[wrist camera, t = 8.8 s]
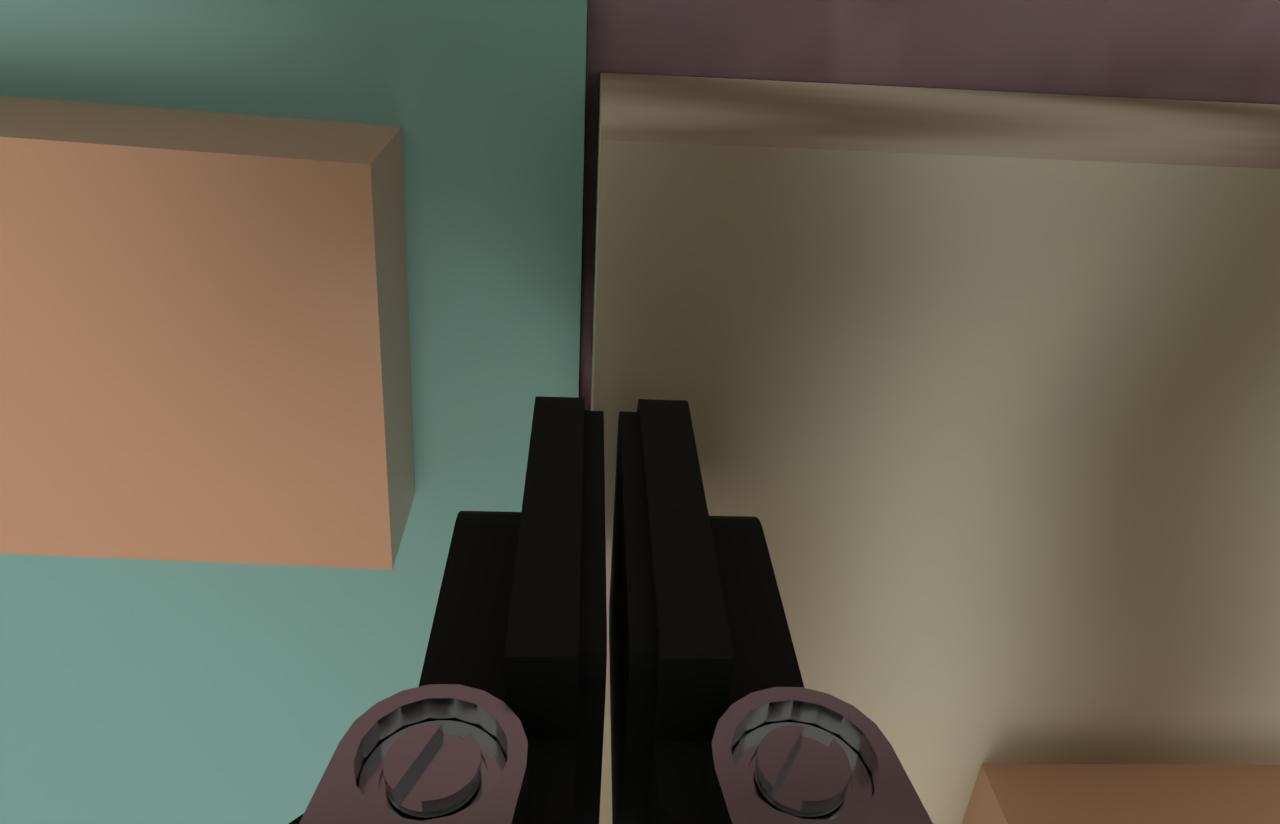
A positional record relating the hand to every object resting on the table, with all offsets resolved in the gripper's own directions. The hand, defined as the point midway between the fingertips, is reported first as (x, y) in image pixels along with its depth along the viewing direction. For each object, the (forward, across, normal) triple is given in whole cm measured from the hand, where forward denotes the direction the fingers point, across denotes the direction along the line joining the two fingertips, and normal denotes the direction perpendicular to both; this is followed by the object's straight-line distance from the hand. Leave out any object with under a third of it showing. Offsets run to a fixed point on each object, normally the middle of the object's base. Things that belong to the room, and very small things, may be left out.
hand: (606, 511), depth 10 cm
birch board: (+5, -8, +4) cm, 10 cm away
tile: (+3, +6, 0) cm, 7 cm away
